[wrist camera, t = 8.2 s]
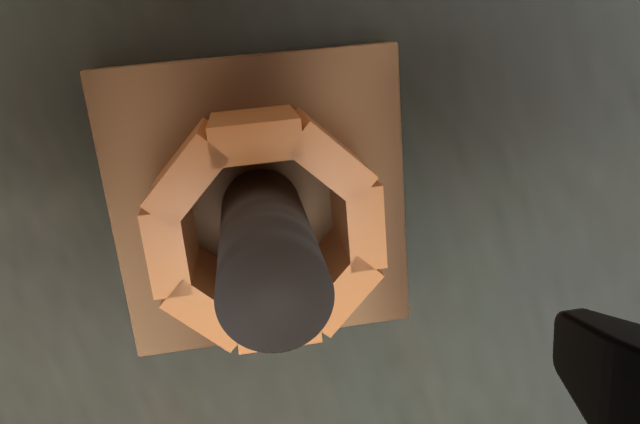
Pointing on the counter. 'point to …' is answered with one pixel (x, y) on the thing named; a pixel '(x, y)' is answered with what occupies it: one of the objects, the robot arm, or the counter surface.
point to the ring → (246, 149)
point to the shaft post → (252, 186)
